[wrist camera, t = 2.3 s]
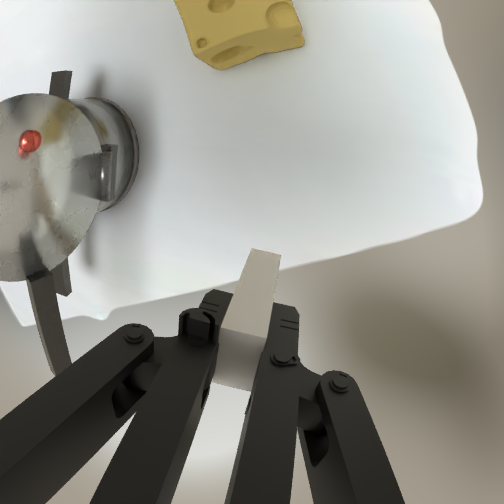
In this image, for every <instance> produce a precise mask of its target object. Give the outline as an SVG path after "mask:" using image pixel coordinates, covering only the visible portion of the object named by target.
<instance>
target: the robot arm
mask: <svg viewBox="0 0 504 504" xmlns="http://www.w3.org/2000/svg"><path fill="white" fill-rule="evenodd" d="M280 258H281V255H279V254H274V253H270V252H265V251H261V250H257V249H251V251H250V254H249V256H248V259H247V261H246V264H245V266H244V269H243V271H242V274H241V277H240V279H239V282H238V284H237V287H236V289H235V292H234V294H232V293H228V292H224V291H219V290H215V289H213V290H211V291H210V292H208V293H207V294H206V295H205V296H204V298H203V300H202V303H201V304H200V306H199V308H191V309H187V310H185V311H183V312H182V313H181V314H180V315H179V332H178V336H174V337H154V334H153V332H152V330H151V329H149V328H148V327H147V326H144V325H141V324H134V323H133V324H127V325H124V326H122V327H120V328H119V329H117V330H116V331H115V332H113V333H112V334H111V335H109V336H108V337H107V338H105V339H104V340H103V341H101V342H100V343H99V344H98V345H96V346H95V347H93V348H92V349H91V350H90V351H88V352H87V353H86V354H84V355H83V356H82V357H80V358H79V359H78V360H76V361H75V362H74V363H72V364H71V365H70V366H69V367H67V368H66V369H65V370H63V371H62V372H61V373H59V374H58V375H57V376H56V377H54V378H53V379H52V380H50V381H49V382H48V383H46V384H45V385H44V386H43V387H41V388H40V389H39V390H37V391H36V392H35V393H34V394H32V395H31V396H30V397H28V398H27V399H26V400H25V401H23V402H22V403H21V404H20V405H18V406H17V407H16V408H15V409H13V410H12V411H11V412H10V413H8V414H7V415H6V416H4V417H3V418H2V419H1V420H0V504H45V503H46V502H48V501H49V500H50V499H51V498H52V497H53V496H54V495H55V494H56V493H57V492H58V491H59V490H60V489H61V488H62V487H63V486H64V485H65V484H66V483H67V482H68V481H69V480H70V479H71V478H72V477H73V476H74V475H75V474H76V473H77V472H78V471H79V470H80V469H81V468H82V467H83V466H84V465H85V464H86V463H87V462H88V461H89V460H90V459H91V458H92V457H93V456H94V455H95V454H96V453H97V452H98V451H99V449H100V448H101V447H102V446H103V445H104V444H105V443H106V442H107V441H108V440H109V439H110V438H111V437H112V436H113V435H114V434H115V433H116V432H117V431H118V430H119V429H120V428H121V427H122V426H123V425H124V423H126V422H127V420H128V419H130V418H131V416H132V415H133V414H134V413H135V412H136V411H137V412H136V413H135V415H134V417H133V419H132V421H131V423H130V425H129V427H128V429H127V431H126V433H125V435H124V436H123V438H122V441H121V442H120V444H119V446H118V448H117V450H116V452H115V454H114V456H113V458H112V460H111V462H110V464H109V466H108V468H107V470H106V471H105V473H104V475H103V477H102V479H101V481H100V483H99V485H98V487H97V490H96V492H95V493H94V496H93V498H92V499H91V501H90V504H171V501H172V499H173V496H174V493H175V490H176V487H177V484H178V481H179V479H180V476H181V473H182V470H183V467H184V464H185V461H186V458H187V456H188V453H189V450H190V447H191V444H192V441H193V438H194V435H195V432H196V430H197V427H198V424H199V421H200V418H201V415H202V412H203V409H204V406H205V403H206V401H207V398H208V395H209V390H210V384H211V381H212V382H214V383H217V384H221V385H225V386H229V387H233V388H238V389H242V390H246V391H251V395H250V398H249V402H248V405H247V408H246V411H245V414H246V415H245V419H244V423H243V428H242V433H241V437H240V441H239V445H238V449H237V450H238V451H237V454H236V458H235V462H234V467H233V471H232V475H231V479H230V483H229V487H228V491H227V495H226V499H225V504H290V498H291V488H292V478H293V468H294V458H295V445H296V434H297V430H298V434H299V439H300V443H301V448H302V452H303V457H304V461H305V466H306V470H307V475H308V479H309V484H310V488H311V493H312V498H313V502H314V504H405V502H404V500H403V497H402V494H401V491H400V489H399V486H398V483H397V481H396V478H395V476H394V473H393V470H392V468H391V465H390V463H389V460H388V458H387V455H386V452H385V450H384V447H383V445H382V442H381V440H380V437H379V435H378V433H377V430H376V428H375V425H374V423H373V421H372V418H371V416H370V413H369V411H368V408H367V406H366V404H365V401H364V399H363V396H362V394H361V392H360V390H359V387H358V385H357V383H356V382H355V380H354V379H353V378H352V377H351V376H349V375H348V374H346V373H344V372H341V371H335V370H334V371H328V372H326V373H325V374H323V375H322V376H321V375H318V374H316V373H314V372H312V371H310V370H308V369H307V368H306V367H304V366H303V365H302V363H301V362H300V358H299V357H298V337H299V313H298V312H297V310H296V308H295V307H292V306H287V305H283V304H278V303H274V302H273V300H274V294H275V288H276V282H277V276H278V270H279V264H280ZM212 378H213V380H212Z"/></svg>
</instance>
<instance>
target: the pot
mask: <svg viewBox="0 0 504 504" xmlns="http://www.w3.org/2000/svg"><path fill="white" fill-rule="evenodd" d="M71 77H72V71H58V72H52V76H51V83H50V90H49V95H53V96H56V97H59V98H62V99H64V100H66V101H67V102H69V103H71V104H73V105H74V106H75V107H76V108H77V109H79V110H80V111H81V112H82V113H83V114H84V115H85V117H86V118H87V119H88V121H89V122H90V124H91V125H92V127H93V129H94V131H95V133H96V135H97V137H98V140H99V143H100V147H101V151H112V152H113V153H112V166H111V185H110V200H108V201H100V202H99V205H98V209H97V211H96V213H98V212H100V211H104V210H106V209H109V208H110V207H112V206H114V205H116V204H117V203H118V202H120V201H121V200H122V199H123V198H124V197H125V195H126V194H127V193H128V191H129V190H130V188H131V186H132V184H133V182H134V179H135V176H136V173H137V169H138V162H139V147H138V140H137V136H136V132H135V129H134V127H133V125H132V122H131V121H130V119H129V117H128V116H127V114H126V113H125V112H124V111H123V110H122V109H121V108H120V107H119V106H118V105H116V104H115V103H113V102H111V101H109V100H106V99H103V98H85V99H68V98H69V90H70V83H71ZM50 272H51V273H52V274H53V278H54V285H55V291H56V293H58V294H61V295H63V296H66V297H67V296H68V295H69V294H70V293H71V292H72V289H71V282H70V274H69V265H68V257H67V258H66V259H65V260H64V261H63V262H61V263H60V264H59V265H57V266H56V267H55V268H53V269H51V270H50Z"/></svg>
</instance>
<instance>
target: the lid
mask: <svg viewBox="0 0 504 504" xmlns="http://www.w3.org/2000/svg"><path fill="white" fill-rule="evenodd" d="M112 153H113V152H112V151H101V147H100V143H99V140H98V137H97V135H96V133H95V131H94V129H93V127H92V125H91V124H90V122H89V121H88V119H87V118H86V117H85V115H84V114H83V113H82V112H81V111H80V110H79V109H77V108H76V107H75V106H74V105H73V104H71V103H69V102H67V101H66V100H64V99H62V98H59V97H56V96H53V95H48V94H42V93H30V94H23V95H18V96H14V97H11V98H8V99H5V100H3V101H1V102H0V281H8V282H14V281H24V280H26V281H27V286H28V291H29V296H30V300H31V304H32V308H33V312H34V316H35V320H36V324H37V327H38V331H39V335H40V338H41V342H42V345H43V348H44V351H45V354H46V357H47V360H48V363H49V366H50V369H51V371H52V372H53V374H54V375H55V376H57V375H58V374H59V373H61V372H62V371H63V370H65V369H66V368H67V367H69V366H70V365H71V364H72V362H71V359H70V355H69V351H68V347H67V343H66V339H65V335H64V331H63V327H62V322H61V317H60V312H59V307H58V302H57V296H56V291H55V285H54V278H53V274H52V273H51V272H50V270H51V269H53V268H55V267H56V266H57V265H59V264H60V263H61V262H63V261H64V260H65V259H66V258H67V257H68V256H69V255H70V254H71V253H72V252H73V251H74V249H75V248H76V247H77V246H78V245H79V243H80V242H81V240H82V239H83V238H84V236H85V234H86V233H87V231H88V229H89V227H90V225H91V223H92V221H93V219H94V217H95V214H96V211H97V209H98V205H99V202H100V201H108V200H110V185H111V166H112Z"/></svg>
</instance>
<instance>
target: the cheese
mask: <svg viewBox="0 0 504 504" xmlns="http://www.w3.org/2000/svg"><path fill="white" fill-rule="evenodd" d="M174 2H175V4H176V6H177V9H178V11H179V13H180V15H181V18H182V20H183V23H184V26H185V29H186V32H187V35H188V38H189V42H190V45H191V48H192V52H193V54H194V55H195V56H196V57H197V58H198V59H200V60H202V61H203V62H205V63H207V64H208V65H210V66H211V67H213V68H216V69H218V70H224V69H227V68H229V67H232V66H235V65H238V64H240V63H243V62H246V61H248V60H251V59H253V58H255V57H256V56H258V55H260V54H263V53H267V52H271V53H275V52H279V51H283V50H288V49H293V48H298V47H302V46H303V45H304V43H305V41H304V37H303V35H302V27H301V24H300V22H299V19H298V17H297V15H296V13H295V10H294V7H293V4H292V2H291V0H174Z"/></svg>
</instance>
